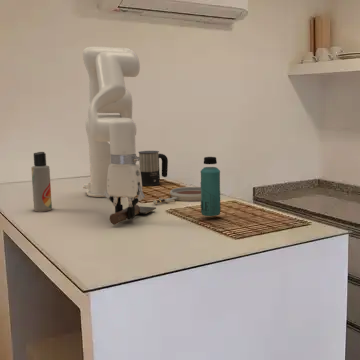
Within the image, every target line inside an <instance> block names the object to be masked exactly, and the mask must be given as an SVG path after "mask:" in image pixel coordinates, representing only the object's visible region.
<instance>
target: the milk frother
mask: <svg viewBox="0 0 360 360" xmlns="http://www.w3.org/2000/svg"><path fill="white" fill-rule="evenodd" d="M138 157H139V158H140V160H139V161H138V162H139V163H138V164H139V168H140V172H141V179H142V186H145V187H147V186H148V187H151V186H159V185H160V184H161V182H160V181H161V180H160V178H161V177H163V178H166V177H168V170H169V169H168V167H169V165H168V164H169V160H168V157H167V155H166V154H165V153H160V151H158V150H141V151H138ZM160 160H161V172H160ZM160 173H161V174H160Z"/></svg>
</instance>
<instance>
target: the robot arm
mask: <svg viewBox="0 0 360 360" xmlns="http://www.w3.org/2000/svg"><path fill="white" fill-rule="evenodd" d="M82 61H83V65H84V67H85V68H86V71H87V74H88V79H89V87H88V88H89V90H88V91H89V106H88V111H87V118H86V120H85V131H86V136H87V142H88V155H89V173H90V174H89V176H90V182H89V183H86V182H84V183H83V185H82V189H86V190H87V191H86V195H87V196H88V197H93V198H106V199H108V200H109V201H110V202H111V203H112V205H113V207H114V213H116V212H118V211H121V210H123V209H124V205H123V204H122V198H127V202H128V206H127V207H126V208H127V215H128V216H127V218H128V219H127V220H128V221H129V220H130V221H131V220H133V219H134V218H135V216H136V215H135V205H138V203H139V202H140V201H142V200H144V199H146V196H145V194H144V192H143V185H142V179H141V172H140V166H139V163H137V162H139V160H140V158H139V156H137V152H136V151H137V150H136V148H137V147H136V136H137V125H136V122H135V121H134V120H133V96H132V92H131V91H130V90H129V89H127V88H126V84H125V78H136V77H138V76H139V74H140V70H141V64H140V60H139V57H138V54H137V53H136V52H135V51H134V50H132V49H131V48H128V47H115V46H114V47H112V46H87V47H86V48H84V49H83V50H82Z"/></svg>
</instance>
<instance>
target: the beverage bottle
mask: <svg viewBox="0 0 360 360" xmlns="http://www.w3.org/2000/svg"><path fill="white" fill-rule="evenodd" d="M217 163H218V162H217V157H216V156H205V157H204V158H203V165H217ZM199 187H201V200H200V213H201V215H202V216H204V217H216V216H220V215H221V209H222V206H221V203H222V202H221V201H222V199H221V170H220V169H219V168H218V167H216V166H205V167H203V168H201V170H200V186H199Z"/></svg>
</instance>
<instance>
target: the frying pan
mask: <svg viewBox="0 0 360 360" xmlns="http://www.w3.org/2000/svg"><path fill="white" fill-rule="evenodd" d="M169 195H170V197H169V198H161V197H158V200H156V199H154V200H153V202H152V204H153V205H156V206H157V204H160V203H163V202H164V203H173V204H175V203H176V202H175V200H176V201H180V202H201V186H181V187H176V188H172V189H170V191H169Z"/></svg>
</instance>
